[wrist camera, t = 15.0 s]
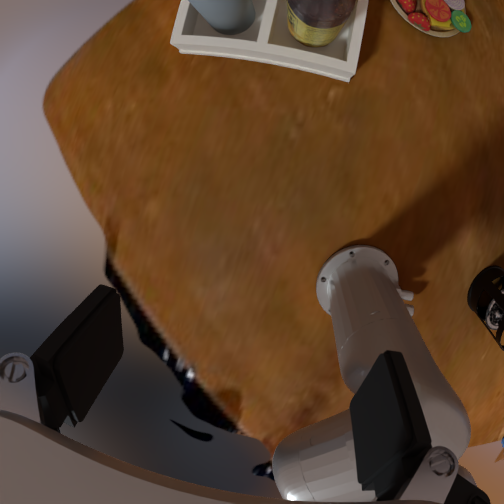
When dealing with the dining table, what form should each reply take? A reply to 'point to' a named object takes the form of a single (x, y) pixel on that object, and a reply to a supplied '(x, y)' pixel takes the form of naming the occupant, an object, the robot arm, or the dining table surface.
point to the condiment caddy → (265, 36)
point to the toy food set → (435, 16)
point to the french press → (500, 306)
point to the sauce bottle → (317, 20)
